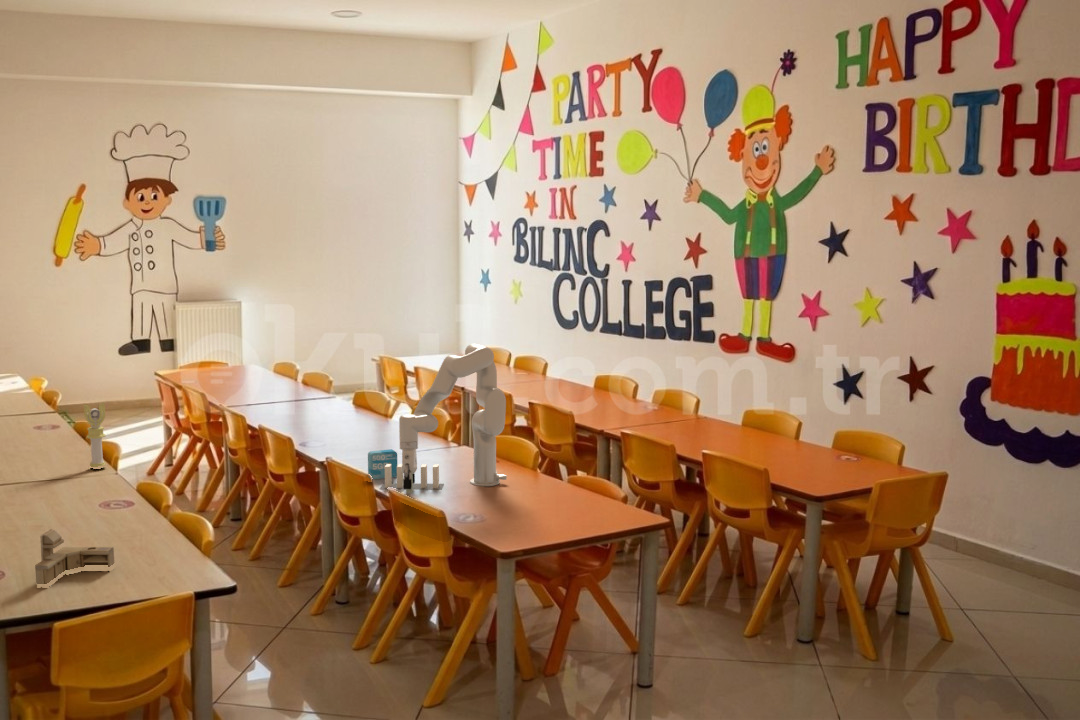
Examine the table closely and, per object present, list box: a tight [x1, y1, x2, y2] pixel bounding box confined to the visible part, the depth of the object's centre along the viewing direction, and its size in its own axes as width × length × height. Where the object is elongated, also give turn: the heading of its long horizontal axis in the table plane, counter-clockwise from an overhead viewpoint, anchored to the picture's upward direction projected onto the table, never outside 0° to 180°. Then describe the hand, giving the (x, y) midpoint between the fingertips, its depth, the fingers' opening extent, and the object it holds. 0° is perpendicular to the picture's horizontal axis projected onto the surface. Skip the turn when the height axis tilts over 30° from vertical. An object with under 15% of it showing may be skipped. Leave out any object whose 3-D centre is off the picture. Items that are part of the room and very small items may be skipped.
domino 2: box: [396, 463, 404, 488], centre depth 423 cm, size 2×5×9 cm, turn 179°
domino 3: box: [405, 473, 414, 494], centre depth 415 cm, size 2×5×9 cm, turn 179°
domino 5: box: [432, 463, 440, 488], centre depth 423 cm, size 2×5×9 cm, turn 179°
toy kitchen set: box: [34, 529, 115, 584], centre depth 313 cm, size 18×17×15 cm
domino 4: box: [420, 463, 428, 488], centre depth 423 cm, size 2×5×9 cm, turn 179°
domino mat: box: [379, 482, 445, 491], centre depth 424 cm, size 26×10×1 cm, turn 89°
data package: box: [367, 449, 398, 480], centre depth 439 cm, size 12×4×12 cm, turn 115°
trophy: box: [83, 401, 106, 467], centre depth 453 cm, size 8×8×30 cm
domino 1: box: [384, 464, 393, 488], centre depth 423 cm, size 2×5×9 cm, turn 179°
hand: (409, 485), depth 416 cm, fingers open, 8 cm apart
